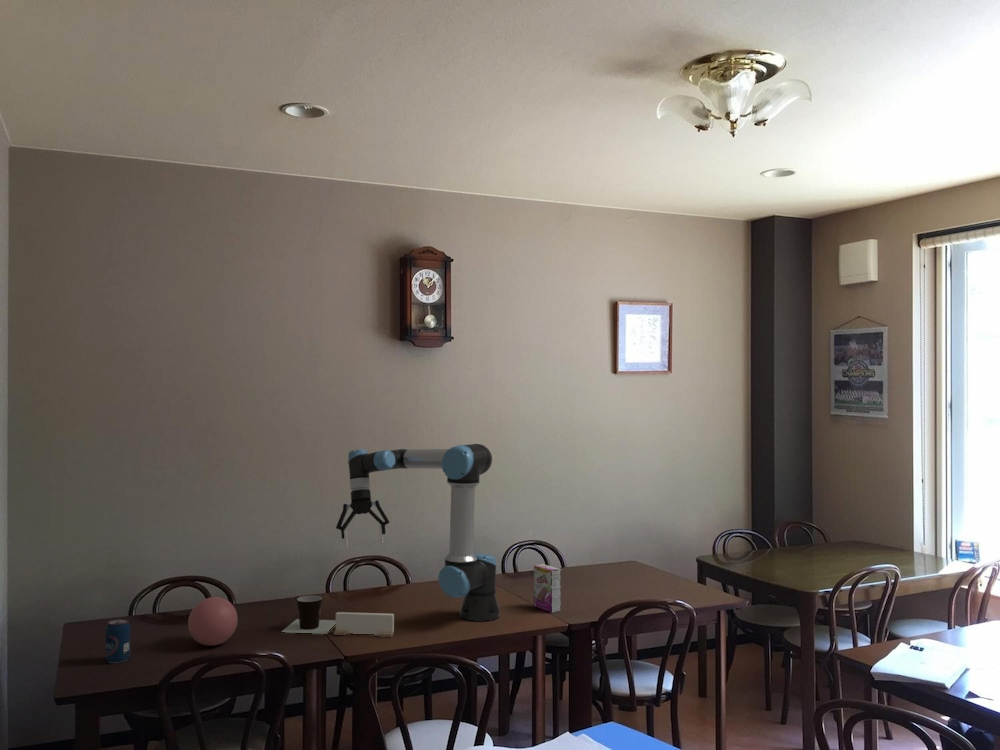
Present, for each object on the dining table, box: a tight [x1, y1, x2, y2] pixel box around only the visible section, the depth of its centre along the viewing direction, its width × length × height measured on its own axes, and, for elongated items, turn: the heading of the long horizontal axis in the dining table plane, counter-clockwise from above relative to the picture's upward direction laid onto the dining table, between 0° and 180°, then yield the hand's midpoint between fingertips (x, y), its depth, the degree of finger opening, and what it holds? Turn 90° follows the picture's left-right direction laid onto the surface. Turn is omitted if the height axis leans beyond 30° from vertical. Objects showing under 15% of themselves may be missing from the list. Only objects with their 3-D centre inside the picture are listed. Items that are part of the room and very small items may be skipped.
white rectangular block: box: [333, 611, 395, 638], centre depth 279 cm, size 20×4×7 cm, turn 85°
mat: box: [281, 618, 336, 635], centre depth 288 cm, size 16×16×1 cm
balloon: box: [187, 596, 239, 647], centre depth 270 cm, size 15×20×15 cm
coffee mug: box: [296, 595, 323, 630], centre depth 288 cm, size 12×9×10 cm
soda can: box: [104, 618, 131, 664], centre depth 252 cm, size 7×7×12 cm
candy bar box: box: [533, 563, 562, 614], centre depth 314 cm, size 11×5×16 cm, turn 37°
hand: (364, 545), depth 311 cm, fingers open, 13 cm apart
